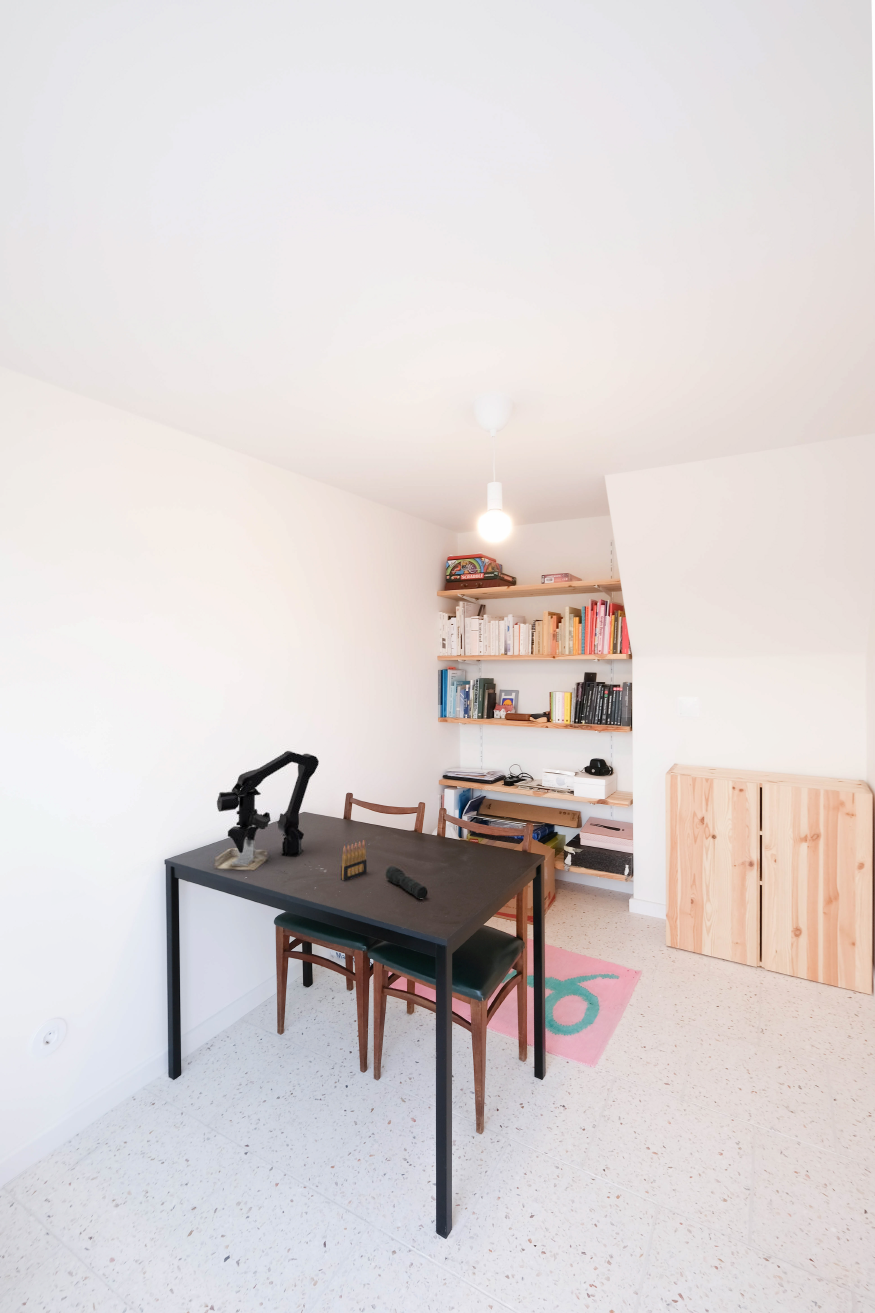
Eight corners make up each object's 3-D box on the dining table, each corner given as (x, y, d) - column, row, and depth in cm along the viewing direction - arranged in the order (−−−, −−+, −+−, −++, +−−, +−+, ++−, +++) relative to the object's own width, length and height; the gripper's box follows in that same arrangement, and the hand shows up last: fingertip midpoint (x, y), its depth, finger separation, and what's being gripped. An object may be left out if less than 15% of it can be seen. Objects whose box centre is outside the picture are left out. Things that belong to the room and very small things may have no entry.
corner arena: (267, 859, 224) (267, 850, 224) (254, 870, 212) (254, 861, 212) (229, 857, 225) (230, 848, 225) (214, 868, 214) (214, 858, 214)
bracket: (239, 859, 221) (239, 838, 221) (254, 860, 221) (255, 839, 221) (231, 866, 215) (231, 844, 215) (247, 866, 214) (247, 845, 214)
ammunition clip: (343, 881, 203) (344, 847, 203) (340, 880, 204) (340, 845, 204) (366, 873, 211) (367, 840, 211) (363, 872, 212) (363, 839, 212)
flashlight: (397, 878, 207) (397, 864, 207) (428, 899, 190) (429, 884, 190) (384, 881, 205) (385, 867, 205) (415, 902, 187) (415, 887, 187)
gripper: (256, 815, 210) (256, 858, 210) (276, 802, 228) (276, 842, 228) (227, 813, 211) (226, 857, 211) (249, 801, 230) (249, 841, 230)
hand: (246, 849), depth 220 cm, fingers open, 8 cm apart
